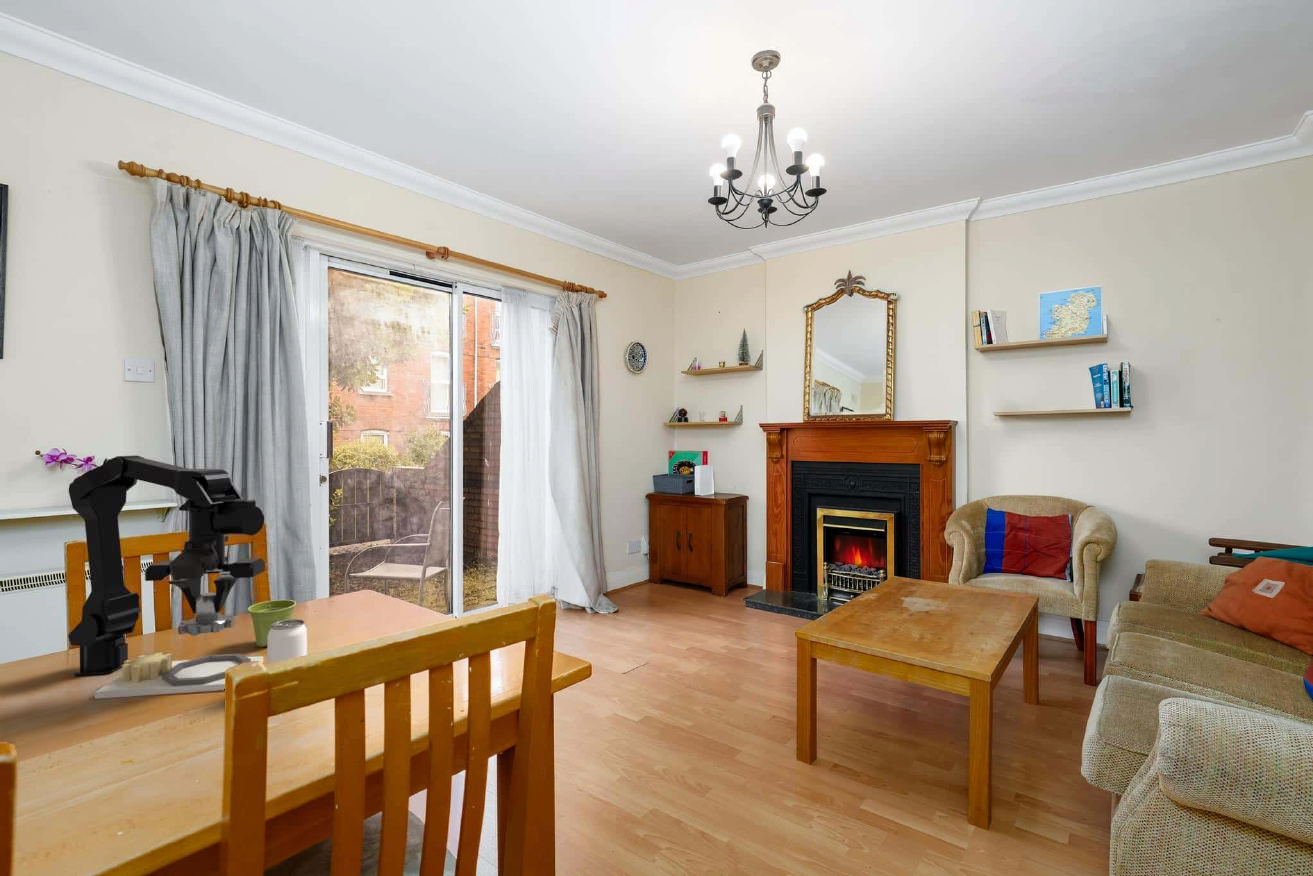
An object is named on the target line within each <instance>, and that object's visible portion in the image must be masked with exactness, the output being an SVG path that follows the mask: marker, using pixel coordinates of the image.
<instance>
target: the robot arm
mask: <svg viewBox="0 0 1313 876" xmlns="http://www.w3.org/2000/svg"><path fill="white" fill-rule="evenodd" d="M138 481H142V482H146V483H150V484H153V485H159V486H163V487H166V488H170V489H172V490H174V492H175V493H176V495H178V496H180V497H181V498H182V497H183V498H184V499H187V500H186V501H185V502H184V503H183V504H182V505H180V506H179V507H178V510H179V511H180V512H181V511H182V512H188V540H186V541H184V544H183V551H182V553H180V554H178V555H176V557H175V558H174V559H173V560H161V561H159V562H155V563H152V564H149V565H148V566H147V568H146V569H145V571H144V581H145V582H157V581H158V582H159V581H164V580H165V579H166V578H168V577H169V576H170V581H168V584H169V585H175V586H176V587H177V588H178V589H180V591H181V592H182V593H183V595H184V597H185V598H186V600H187V603H188V605H189V607H190V609H191V611H192V613H193V614H195V615H196V596H197V595H199V594H202V592H201V591H202V590H201V588H202V578H203V576H204V575H207V574H208V575H209V574H213V575H214V574H219V577H218V578H216V579H213V584H214V586H215V593H216V601H215V608H216V613H218V614H219V613H221V611H222V609H223V607H224V605H225V603H226V601H227V599H228V597H229V594H230V592H231V590H232V589H233V586H234V585H235V584H236V582H237V580H239V579H247V578H248V579H250V578H254V577H256V576H258V575H261V574H262V573H264V572H265V571H266V562H265V561H264V559H263V558H262V557H253V558H252V557H249V558H247V557H246V558H241V559H239V560H236V561H234V562H232V563H231V562H230V563H227V562H229V556H228V555H227V556H226V543H227V542H228V541H229V536H228V535H230V536H231V535H232V536H254V535H256V534H259V532H260V531H261V530H262V528H263V526H264V524H265V515H264V513H263V511H262V510H261V508H260V507H258V506H256V504H257V503H256V502H257V501H256V500H255V499H248V500H244V499H245V498H243V496H242V494H241V493H240V491H239V490H238V489H237V487H236V486H235V484H234V483H233V481H232V480H231V477H230V476H229V472H228V471H226V470H224V469H221V468H220V469H219V468H187V467H183V466H178V465H175V464H174V465H173V464H170V463H166V462H161V461H157V460H153V459H149V458H145V457H143V456H141V455H140V456H139V455H117V456H114V457H112V458H110V459H109V460H107V462H105V463H103V464H101V465H99V466H96V467H95V468H93V469H90V470H87V471H85V472H84V473H82V475H80V476H76V477H75V478H74V479H73V481H72V482H71V483H69V485H68V494H69V498H70V502H71V506H72V508H73V510H74V511H75V512H76V513H77V514H78V515H79V516H80V517H81V518H82V519H83V521H84V528H85V538H86V546H87V547H86V548H87V558H88V569H89V570H88V571H89V579H90V588H91V590H90V593H89V595H88V596H87V598H86V600H85V602H84V604H83V605H82V609H81V621H79V622H78V623H77V625H76V626H75V627H74V628H73V629H72V630H71V631H70V633H68V635H67V637H68V640H69V643H70V645H71V646H76V647H79V670H76V671H75V672H73V676H88V675H91V676H93V675H108V674H112V673H114V672H116V671H117V670H119V669H122V665H124V662H125V661H126V660H131V659H129V657H128V656H129V648H128V647H129V644H128V642H126V635H128V634H132V633H134V630H135V626H136V624H137V622H138V620H139V618H140V612H142V608H141V607H140V595H139V593H138V592H133V593H132V592H131V591H130V589H128V588H127V587H126V586H125V578H124V569H123V566H124V565H123V557H122V547H121V545H122V544H121V537H120V536H121V535H120V527H119V515H120V513H121V512H122V510H123V509H124V506H125V505H126V503H127V492H128V491H129V490H130V489H132V488H133V487H134V486H136V485H137V484H138V483H137V482H138Z"/></svg>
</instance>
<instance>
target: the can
mask: <svg viewBox="0 0 1313 876" xmlns="http://www.w3.org/2000/svg"><path fill="white" fill-rule="evenodd" d="M270 628H271V629H270V631H269V633H268V639H267V646H266V647H267V648H266V650H267V654H266V655H267V664H269V663H274V662H276V661H282V660H288V659H291V658H297V657H300V656H305V655H307V656H308V629H307V627H306V625H305V621H304V620H303V619H299V618H298V619H291V620H284V621H280V622H276V623H274V624H272V625H271V626H270Z"/></svg>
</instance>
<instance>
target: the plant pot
mask: <svg viewBox="0 0 1313 876" xmlns="http://www.w3.org/2000/svg"><path fill="white" fill-rule="evenodd" d="M296 606H297V601H296V600H291V599H275V600H267V601H263V602H262V601H261V602H258V603H254V604H253V605H250V606H249V607H248V608H247V611H248V613H250V615H249V616H250V617H251V619H252V625H253V631H254V637H255V644H256V646H257V647H259V648H263V647H267V639H268V633H269V631H270V629H271V628H270V626H271V625H272V624H274V623H276V622H280V621H284V620H292V616H293V612H294V609H295V607H296Z"/></svg>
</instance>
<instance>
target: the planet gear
mask: <svg viewBox="0 0 1313 876" xmlns="http://www.w3.org/2000/svg"><path fill="white" fill-rule="evenodd" d="M215 601H216V592H204V593H200V594H199V595H197V596H196V614H195V616H194V618H190V619H188V620H181V621H180V622H179V625H177V627H178V628H177V630H178V633H177V634H178V635H179V636H181V635H185V634H188V635H191V636H199V635H201V634H202V635H203V634H209V633H212V634H215V633H220V631H221V630H224V629H227V628H228V629H230V628H233V627H234V626H235V625H234V624H235V614H232V613H231V614H228V615H227V614H222V612H219V613H216V608H215Z"/></svg>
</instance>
